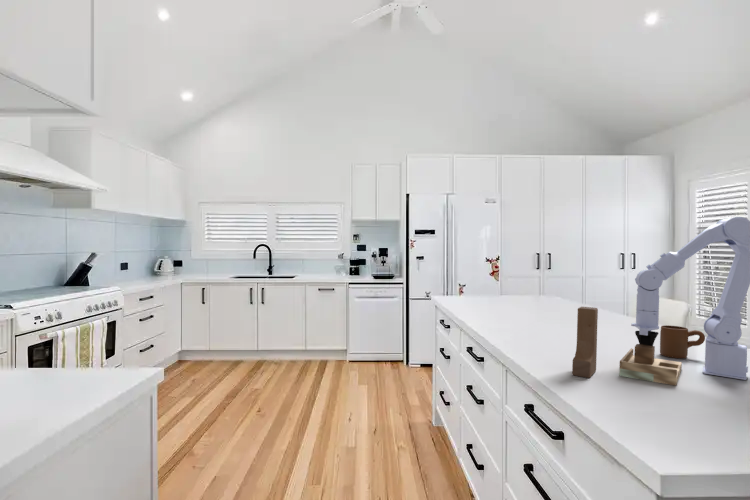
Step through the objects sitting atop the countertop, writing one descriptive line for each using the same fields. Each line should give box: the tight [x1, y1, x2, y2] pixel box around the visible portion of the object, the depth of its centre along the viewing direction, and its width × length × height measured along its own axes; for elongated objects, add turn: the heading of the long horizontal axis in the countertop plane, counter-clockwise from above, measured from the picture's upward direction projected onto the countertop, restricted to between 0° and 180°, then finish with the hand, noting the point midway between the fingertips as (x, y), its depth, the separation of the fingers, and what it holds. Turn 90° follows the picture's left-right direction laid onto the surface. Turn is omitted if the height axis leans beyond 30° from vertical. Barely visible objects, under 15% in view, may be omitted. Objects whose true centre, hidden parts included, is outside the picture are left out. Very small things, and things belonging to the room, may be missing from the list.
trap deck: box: [618, 348, 683, 387], centre depth 127 cm, size 13×20×4 cm, turn 142°
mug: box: [659, 324, 706, 359], centre depth 146 cm, size 12×8×9 cm, turn 58°
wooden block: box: [571, 306, 599, 379], centre depth 124 cm, size 9×4×18 cm, turn 144°
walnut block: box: [633, 343, 656, 365], centre depth 130 cm, size 4×4×4 cm
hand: (646, 355), depth 133 cm, fingers closed
